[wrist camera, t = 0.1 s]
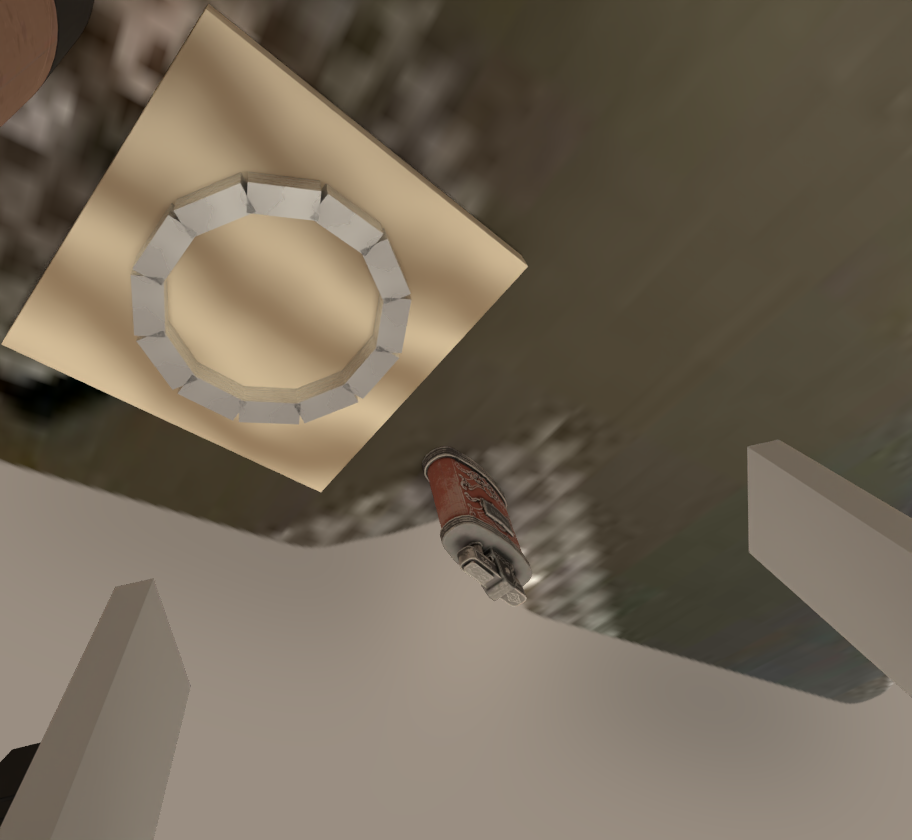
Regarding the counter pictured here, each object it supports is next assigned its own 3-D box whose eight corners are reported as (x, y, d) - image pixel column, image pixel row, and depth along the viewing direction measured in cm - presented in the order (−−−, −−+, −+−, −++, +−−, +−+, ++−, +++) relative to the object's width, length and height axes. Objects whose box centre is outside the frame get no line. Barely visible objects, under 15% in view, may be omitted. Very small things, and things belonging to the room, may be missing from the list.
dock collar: (230, 113, 34) (229, 122, 33) (454, 277, 41) (460, 289, 40) (86, 331, 39) (80, 346, 38) (309, 443, 46) (310, 458, 45)
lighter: (514, 496, 55) (555, 602, 47) (478, 521, 56) (512, 629, 48) (449, 437, 50) (482, 544, 42) (411, 465, 51) (437, 575, 43)
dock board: (208, 3, 32) (206, 9, 31) (520, 255, 43) (528, 266, 42) (9, 329, 39) (1, 344, 38) (319, 477, 50) (320, 492, 49)
